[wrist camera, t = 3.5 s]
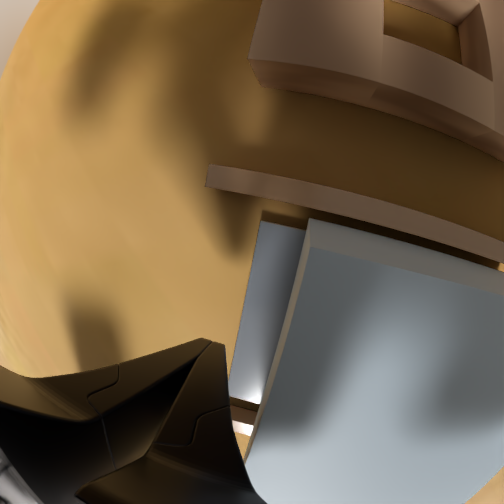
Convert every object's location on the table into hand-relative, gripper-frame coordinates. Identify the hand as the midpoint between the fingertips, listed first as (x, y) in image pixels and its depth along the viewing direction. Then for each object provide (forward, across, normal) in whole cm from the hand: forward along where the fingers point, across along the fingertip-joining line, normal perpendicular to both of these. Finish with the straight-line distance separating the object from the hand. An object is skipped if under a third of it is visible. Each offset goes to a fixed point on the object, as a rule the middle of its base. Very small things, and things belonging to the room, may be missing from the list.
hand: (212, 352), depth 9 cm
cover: (+3, -6, 0) cm, 7 cm away
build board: (+3, -5, -17) cm, 18 cm away
